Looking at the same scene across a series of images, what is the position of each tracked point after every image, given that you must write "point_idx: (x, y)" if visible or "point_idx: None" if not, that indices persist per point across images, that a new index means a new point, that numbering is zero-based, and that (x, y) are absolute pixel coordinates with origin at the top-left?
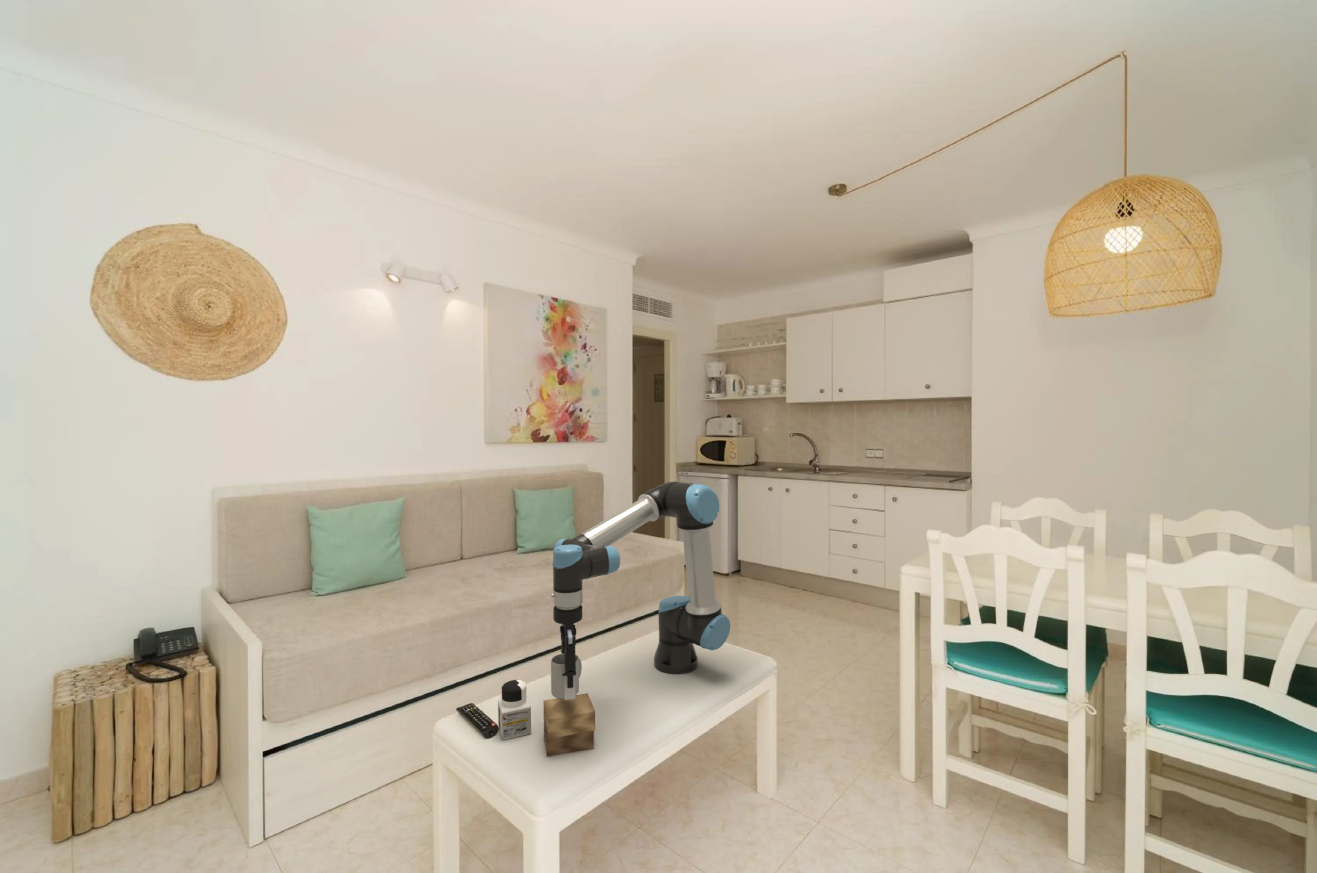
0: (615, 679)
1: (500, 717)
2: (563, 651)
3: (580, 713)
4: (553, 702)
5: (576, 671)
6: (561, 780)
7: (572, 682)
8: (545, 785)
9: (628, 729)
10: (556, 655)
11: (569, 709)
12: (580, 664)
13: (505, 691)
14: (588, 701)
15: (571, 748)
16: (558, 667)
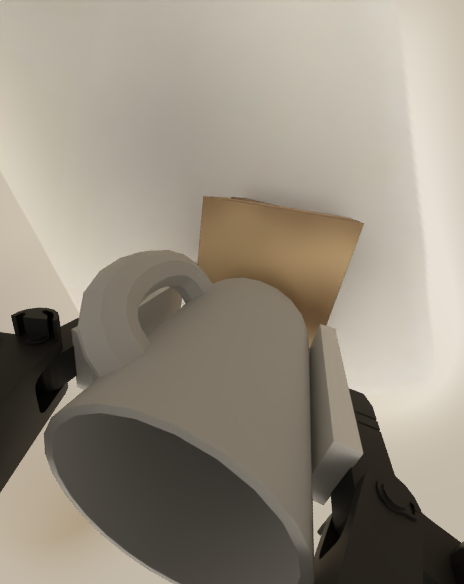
0: (29, 13)
1: None
2: (17, 457)
3: (339, 284)
4: None
5: (291, 394)
6: (409, 334)
7: (379, 435)
8: (400, 364)
9: (312, 71)
10: (75, 503)
11: None
12: (142, 277)
13: None
14: (267, 218)
15: None
16: (262, 571)
